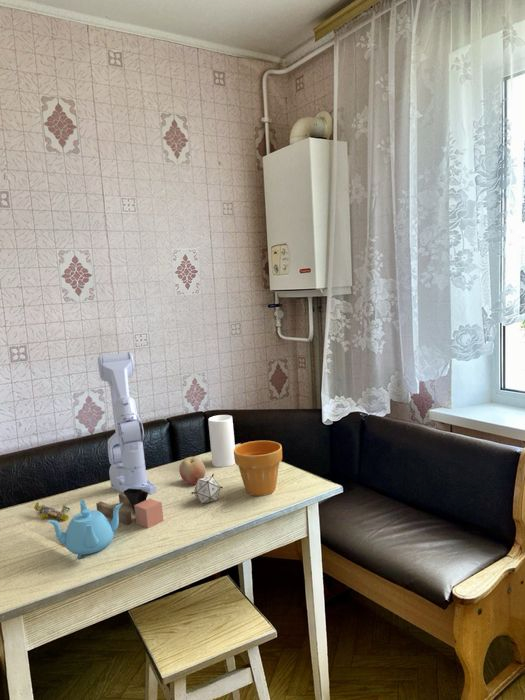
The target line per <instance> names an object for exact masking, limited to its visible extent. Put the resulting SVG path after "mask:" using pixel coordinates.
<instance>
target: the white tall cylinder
mask: <svg viewBox="0 0 525 700" xmlns="http://www.w3.org/2000/svg"><path fill="white" fill-rule="evenodd" d="M207 420H208V431H209V441H210V443H209V444H210V451H211V452H210V453H211V460H212V461H211V462H212V466H214V467H217V468H227V467H230V466H233V465H236V463H235V459H234V449H235V447H236V445H235V444H236V443H235V434H234V433H235V431H234V423H233V416H232V415H229V414H218V415H213V416H211V417H209V418H208V419H207Z"/></svg>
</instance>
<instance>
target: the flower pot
mask: <svg viewBox="0 0 525 700" xmlns="http://www.w3.org/2000/svg"><path fill="white" fill-rule="evenodd" d="M234 459H235V465H237V466H238V469H239V473H240V476H241V480H242V483H243V486H244V489H245V492H246V493H247V494H248V495H250V496H257V497H259V496H267V495H269V494H272V493H275V491H276V488H277V487H276V486H277V484H278V483H277V481H278V475H279V468H280V463H281V462H282V461H283V447H282V444H281V443H279V442H276V441H272V440H254V441H248V442H247V441H246V442H243V443H240V444H238V445H237V446H235V449H234Z"/></svg>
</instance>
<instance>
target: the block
mask: <svg viewBox="0 0 525 700" xmlns="http://www.w3.org/2000/svg"><path fill="white" fill-rule="evenodd" d="M134 507H135V514H134V515H135V523H136V524H137V525H139V526H142V527H145V528H147V529H149V528H151V527H153V526H155V525H157V524H159V523H161V522H164V514H163V513H164V512H163V504H162V501H158V500H156V499H152V498H148V499H146V500H145V501H143V502H140V503H138V504H136V505H134Z"/></svg>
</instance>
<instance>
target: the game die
mask: <svg viewBox="0 0 525 700" xmlns="http://www.w3.org/2000/svg"><path fill="white" fill-rule="evenodd" d="M214 475H215V474H214V473H212V475H211V476H206V477H205V476H204V478H200V479H198V478H197V477H196V479H197V482H196V484H195V485H194V486H195V487H194V489H193V491H192V492H191V493H190V494H192V495H193V494H194V496H195V497H196V499H197V501H198V502H199V503H200V504H202V505H203V504H207V503H211V502H212V503H213V502H216V501H218V498H219V495H220V491H221V489H223V488H224V486H220V484H219V483H218V481H217V480H216V479H215V477H214Z"/></svg>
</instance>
